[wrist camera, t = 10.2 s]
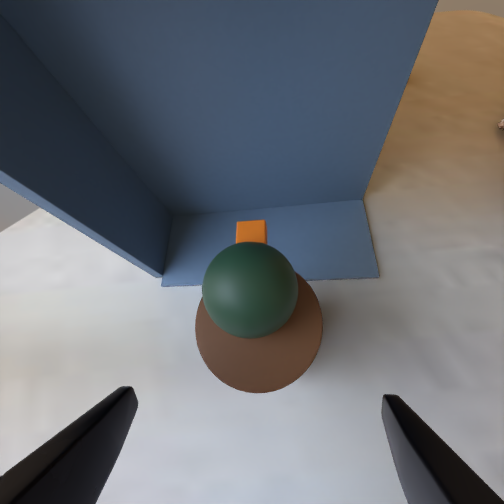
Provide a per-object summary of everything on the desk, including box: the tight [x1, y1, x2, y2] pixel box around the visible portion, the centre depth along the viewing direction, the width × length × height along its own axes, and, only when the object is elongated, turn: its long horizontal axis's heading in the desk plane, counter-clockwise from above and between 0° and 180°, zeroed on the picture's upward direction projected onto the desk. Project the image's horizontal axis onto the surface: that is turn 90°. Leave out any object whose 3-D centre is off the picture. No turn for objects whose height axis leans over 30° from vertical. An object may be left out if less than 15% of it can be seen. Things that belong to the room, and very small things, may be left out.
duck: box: [195, 219, 323, 393], centre depth 14 cm, size 7×6×14 cm
